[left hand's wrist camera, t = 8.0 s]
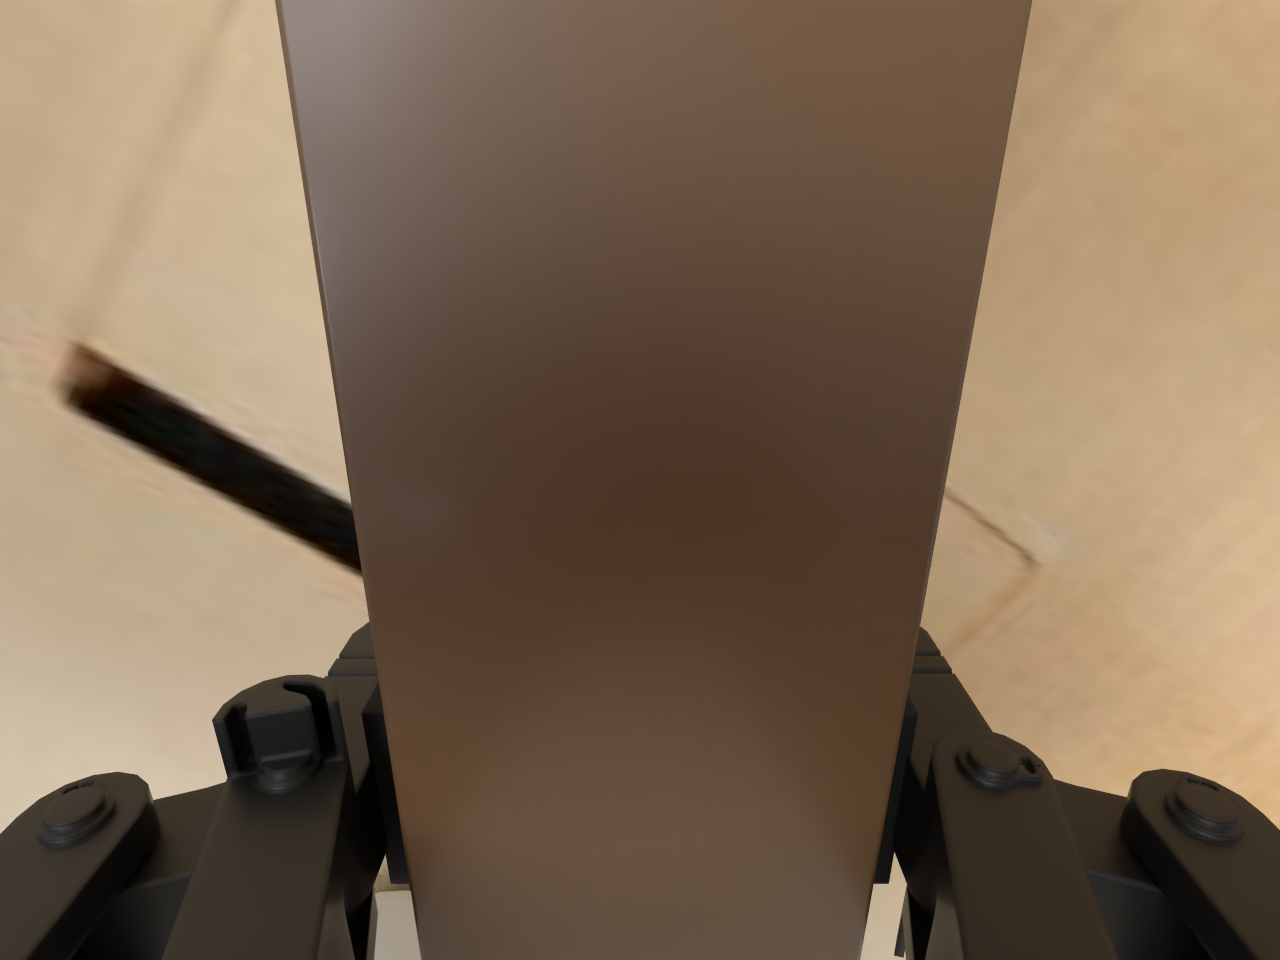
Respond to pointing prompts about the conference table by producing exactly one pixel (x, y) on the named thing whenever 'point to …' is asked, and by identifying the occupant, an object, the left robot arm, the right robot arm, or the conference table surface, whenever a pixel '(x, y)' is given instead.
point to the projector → (396, 927)
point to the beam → (647, 437)
